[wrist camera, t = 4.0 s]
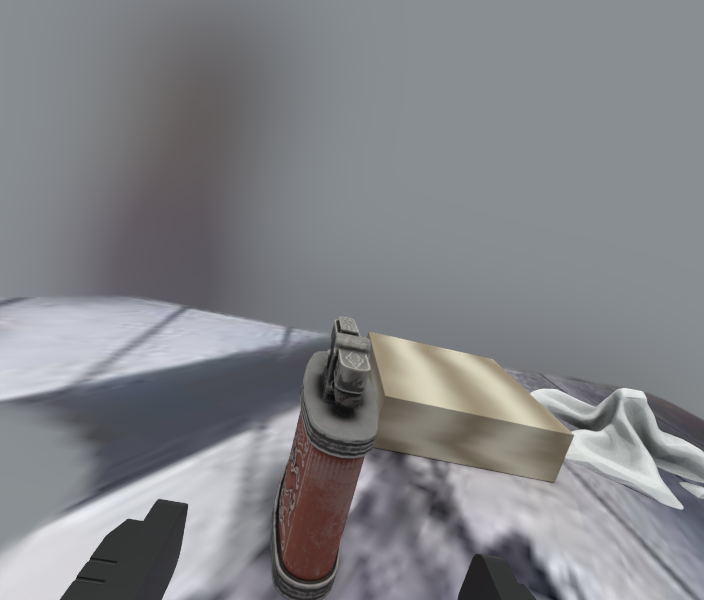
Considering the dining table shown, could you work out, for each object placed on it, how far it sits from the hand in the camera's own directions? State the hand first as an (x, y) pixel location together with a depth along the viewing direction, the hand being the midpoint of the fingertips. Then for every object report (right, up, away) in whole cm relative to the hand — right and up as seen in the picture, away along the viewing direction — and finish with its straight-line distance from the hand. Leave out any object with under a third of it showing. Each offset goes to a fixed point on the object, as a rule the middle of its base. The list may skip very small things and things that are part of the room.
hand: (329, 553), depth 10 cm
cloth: (+29, -9, +27) cm, 40 cm away
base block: (+8, -3, +23) cm, 25 cm away
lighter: (-2, -4, +8) cm, 10 cm away
